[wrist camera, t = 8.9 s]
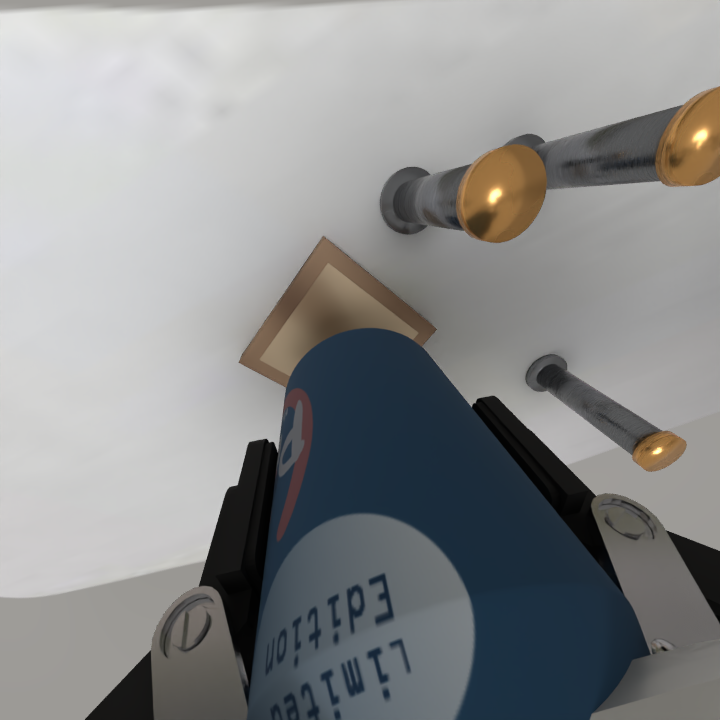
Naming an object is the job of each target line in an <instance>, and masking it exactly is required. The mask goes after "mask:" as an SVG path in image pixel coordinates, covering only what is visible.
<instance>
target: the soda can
mask: <svg viewBox="0 0 720 720" xmlns="http://www.w3.org/2000/svg"><path fill="white" fill-rule="evenodd" d="M649 655H651V653H650V651H649V648H648V645H647V642H646V640H645V637H644V634H643V632H642V629H641V626H640V624H639V621H638V619H637V616H636V614H635V611H634V609H633V607H632V606H631V604H630V602H629V601H628V600H627V598H626V597H625V596H624V595H623V593H622V592H621V591H620V590H619V588H618V587H617V586H616V585H615V584H614V582H613V581H612V580H611V579H610V577H609V576H608V575H607V574H606V572H605V571H604V570H603V569H602V568H601V566H600V565H599V564H598V563H597V561H596V560H595V559H594V558H593V556H592V555H591V554H590V553H589V552H588V550H587V549H586V548H585V547H584V545H583V544H582V543H581V542H580V540H579V539H578V538H577V537H576V535H575V534H574V533H573V532H572V531H571V529H570V528H569V527H568V526H567V524H566V523H565V522H564V521H563V519H562V518H561V517H560V516H559V515H558V513H557V512H556V511H555V510H554V508H553V507H552V506H551V505H550V503H549V502H548V501H547V500H546V499H545V497H544V496H543V495H542V494H541V492H540V491H539V490H538V489H537V487H536V486H535V485H534V484H533V483H532V481H531V480H530V479H529V478H528V476H527V475H526V474H525V473H524V471H523V470H522V469H521V468H520V467H519V465H518V464H517V463H516V462H515V460H514V459H513V458H512V457H511V455H510V454H509V453H508V452H507V450H506V449H505V448H504V447H503V446H502V444H501V443H500V442H499V441H498V439H497V438H496V437H495V436H494V434H493V433H492V432H491V431H490V430H489V428H488V427H487V426H486V425H485V423H484V422H483V421H482V420H481V418H480V417H479V416H478V415H477V414H476V412H475V411H474V410H473V409H472V407H471V406H470V405H469V404H468V402H467V401H466V400H465V399H464V398H463V396H462V395H461V394H460V393H459V391H458V390H457V389H456V388H455V386H454V385H453V384H452V383H451V381H450V380H449V379H448V378H447V377H446V375H445V374H444V373H443V372H442V370H441V369H440V368H439V367H438V365H437V364H436V363H435V362H434V361H433V359H432V358H431V357H430V356H429V354H428V353H427V352H426V351H425V350H424V349H423V348H422V347H421V346H420V345H419V344H418V343H416V342H415V341H414V340H412V339H410V338H409V337H407V336H405V335H403V334H400V333H397V332H394V331H391V330H386V329H380V328H360V329H353V330H348V331H345V332H341V333H338V334H336V335H333V336H331V337H329V338H327V339H325V340H323V341H322V342H320V343H319V344H317V345H316V346H315V347H313V348H312V349H311V350H310V351H309V352H307V353H306V354H305V355H304V357H303V358H302V359H301V360H300V361H299V362H298V364H297V365H296V367H295V368H294V370H293V372H292V374H291V376H290V378H289V381H288V384H287V387H286V393H285V400H284V409H283V417H282V425H281V433H280V442H279V450H278V458H277V467H276V475H275V483H274V491H273V500H272V508H271V516H270V524H269V533H268V541H267V549H266V558H265V566H264V574H263V582H262V591H261V599H260V607H259V615H258V624H257V632H256V640H255V649H254V657H253V665H252V673H251V682H250V690H249V700H248V713H247V720H590V718H591V714H592V713H593V712H594V711H596V710H597V709H598V708H599V707H600V705H601V704H602V703H603V702H604V701H605V700H606V699H607V698H608V697H609V696H610V695H611V693H612V692H613V691H614V690H615V688H616V687H617V686H618V684H619V683H620V681H621V680H622V678H623V677H624V675H625V674H626V672H627V670H628V668H629V666H630V664H631V662H632V660H634V659H637V658H641V657H645V656H649Z"/></svg>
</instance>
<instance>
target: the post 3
mask: <svg viewBox="0 0 720 720" xmlns="http://www.w3.org/2000/svg"><path fill="white" fill-rule="evenodd" d="M526 382H527V384H528V386H529V387H531V388H532V389H533V390H535V391H539V392H542V391H548V392H550V393H551V394H552V395H554V396H555V397H556V398H558V399H559V400H560V401H562V402H563V403H564V404H566V405H567V406H568V407H569V408H571V409H572V410H573V411H575V412H576V413H577V414H579V415H580V416H581V417H583V418H584V419H585V420H587V421H588V422H589V423H590V424H592V425H593V426H594V427H596V428H597V429H598V430H600V431H601V432H602V433H604V434H605V435H606V436H608V437H609V438H610V439H611V440H613V441H614V442H615V443H617V444H618V445H619V446H621V447H622V448H623V449H625V450H626V451H627V452H629V453H630V454H631V455H632V458H633V461H634V462H636V463H637V464H638V465H639V466H641V467H642V468H643V469H645V470H646V471H651V472H652V471H657V470H660V469H663V468H665V467H667V466H669V465H671V464H672V463H673V462H675V461H676V460H677V459H678V458H679V457H680V456H681V455H682V454H683V452H684V451H685V449H686V441H685V440H683V439H682V438H680V437H678V436H677V435H675V434H674V433H672V432H670V431H662V430H660V429H658V428H657V427H655V426H654V425H652V424H650V423H649V422H647V421H646V420H644V419H642V418H641V417H639V416H638V415H636V414H634V413H633V412H631V411H630V410H628V409H627V408H625V407H623V406H622V405H620V404H619V403H617V402H615V401H614V400H612V399H611V398H609V397H607V396H606V395H604V394H603V393H601V392H600V391H598V390H596V389H595V388H593V387H592V386H590V385H588V384H587V383H585V382H584V381H582V380H580V379H579V378H577V377H576V376H574V375H572V374H571V373H569V372H568V371H567V363H566V361H565V360H564V359H562V358H561V357H559V356H557V355H547V356H544V357H542V358H540V359H538V360H537V361H536V362H534V363H533V364H532V366H531V367H530V368H529V370H528V372H527V375H526Z"/></svg>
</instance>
